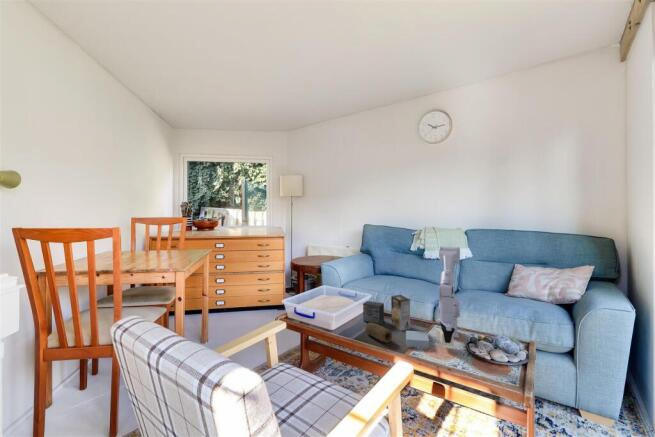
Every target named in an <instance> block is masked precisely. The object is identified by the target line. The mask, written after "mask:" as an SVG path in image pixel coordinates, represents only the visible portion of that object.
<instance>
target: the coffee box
mask: <svg viewBox="0 0 655 437" xmlns="http://www.w3.org/2000/svg"><path fill="white" fill-rule="evenodd" d="M390 299H391V300H390V301H391V302H390V303H391V306H390V307H391V325H392V326H393V327H395V328H396V329H397V330H399V331H407V330H410V329H411V299H410V298H407V296H404V295H402V294H397V295H391V296H390Z"/></svg>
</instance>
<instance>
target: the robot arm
mask: <svg viewBox="0 0 655 437" xmlns="http://www.w3.org/2000/svg"><path fill="white" fill-rule="evenodd" d="M438 258H439V261H440V263H441V264H442V265H443V271H442V272H441V273H440V284H438V296H439V297H438V299H439V300H438V315H439V318H437V319H436V320H437V322H438V323H439V324H440V329H439V330H440V332H441V330H442V331H443V334H444V339H445V343H450V342H451V338H452V335H454V338H455V339H459V338H460V336H459V333H458V318H460V316H461V306H460V304H461V303H460V301H459V300H458V299H456V297H455V268H456V266H457V265H459V264H460V262H461V261H460V260H461V248H460V247H459V246H457V247H456V246H439V247H438Z"/></svg>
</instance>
